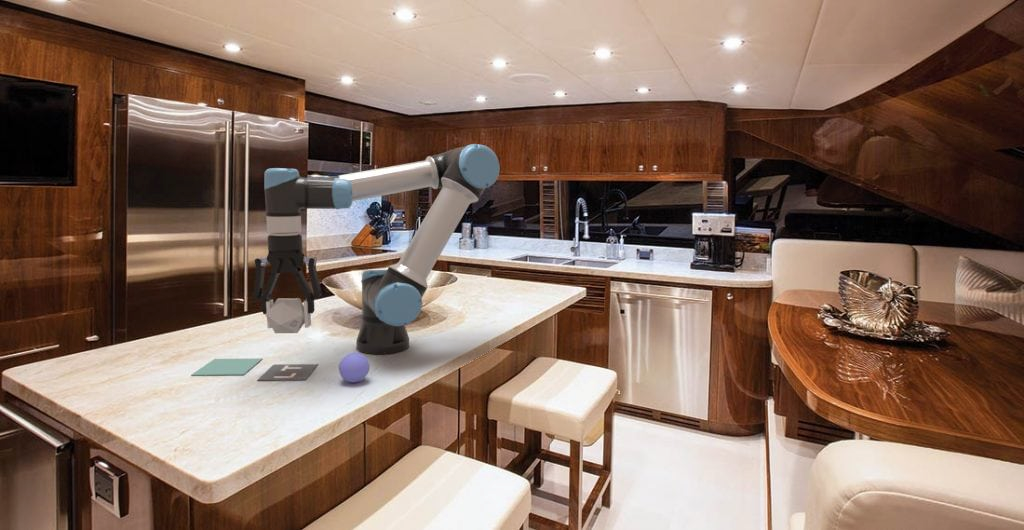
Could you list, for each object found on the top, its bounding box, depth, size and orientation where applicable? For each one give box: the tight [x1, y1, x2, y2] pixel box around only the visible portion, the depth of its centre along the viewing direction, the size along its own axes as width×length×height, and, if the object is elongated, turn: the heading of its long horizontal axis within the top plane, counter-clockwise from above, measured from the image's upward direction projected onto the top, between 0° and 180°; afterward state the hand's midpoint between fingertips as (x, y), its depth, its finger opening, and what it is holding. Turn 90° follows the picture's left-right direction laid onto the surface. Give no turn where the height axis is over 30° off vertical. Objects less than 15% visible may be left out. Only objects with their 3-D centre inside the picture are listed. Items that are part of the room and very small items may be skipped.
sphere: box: [338, 352, 370, 383], centre depth 121 cm, size 7×7×7 cm
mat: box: [190, 357, 263, 377], centre depth 128 cm, size 12×12×1 cm
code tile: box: [256, 363, 318, 382], centre depth 125 cm, size 11×11×1 cm
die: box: [264, 297, 305, 334], centre depth 123 cm, size 8×9×10 cm
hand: (289, 326), depth 124 cm, fingers closed on die, 8 cm apart
